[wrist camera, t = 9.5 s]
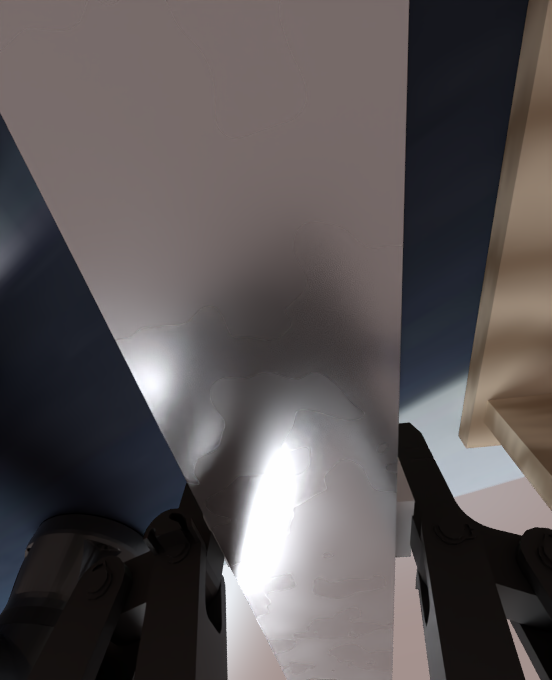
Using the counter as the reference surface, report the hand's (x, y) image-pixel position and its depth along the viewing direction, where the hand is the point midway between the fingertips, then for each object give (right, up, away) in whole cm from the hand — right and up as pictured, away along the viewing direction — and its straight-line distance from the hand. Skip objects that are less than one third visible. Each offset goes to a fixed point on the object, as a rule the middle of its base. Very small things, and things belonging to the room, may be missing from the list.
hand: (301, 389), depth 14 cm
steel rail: (0, -2, -3) cm, 3 cm away
